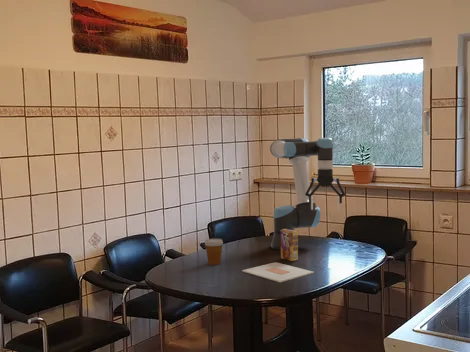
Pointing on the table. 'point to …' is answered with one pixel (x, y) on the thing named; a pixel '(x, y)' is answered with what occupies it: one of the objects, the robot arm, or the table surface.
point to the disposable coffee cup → (214, 251)
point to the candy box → (289, 244)
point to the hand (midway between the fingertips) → (325, 209)
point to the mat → (278, 272)
